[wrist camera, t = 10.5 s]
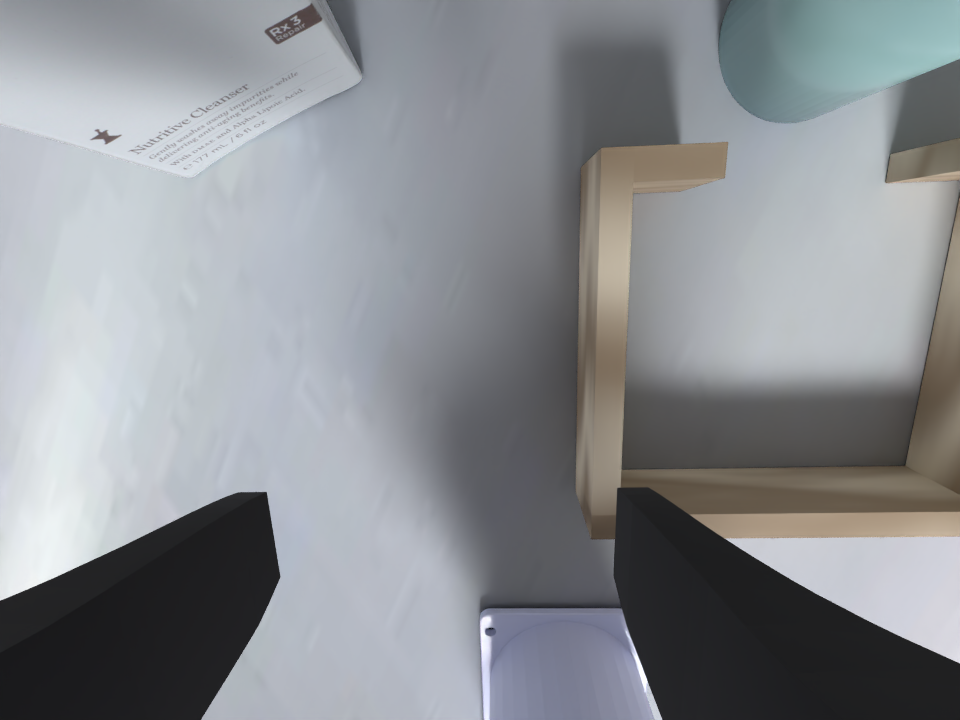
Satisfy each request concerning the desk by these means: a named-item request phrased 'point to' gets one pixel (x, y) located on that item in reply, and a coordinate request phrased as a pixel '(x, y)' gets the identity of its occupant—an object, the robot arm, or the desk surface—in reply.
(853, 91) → the teal cylinder with tab
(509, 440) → the desk surface
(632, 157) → the cradle
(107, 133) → the skincare box
